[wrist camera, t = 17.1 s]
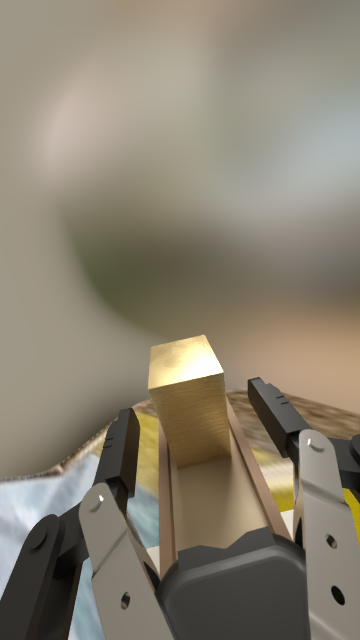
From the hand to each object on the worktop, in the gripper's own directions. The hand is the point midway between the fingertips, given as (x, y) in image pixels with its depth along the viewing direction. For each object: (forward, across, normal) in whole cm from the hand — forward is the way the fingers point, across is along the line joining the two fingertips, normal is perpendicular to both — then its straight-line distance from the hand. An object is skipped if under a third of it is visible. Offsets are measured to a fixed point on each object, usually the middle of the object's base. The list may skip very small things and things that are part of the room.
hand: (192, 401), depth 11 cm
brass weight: (+3, 0, +8) cm, 9 cm away
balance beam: (-8, 0, +10) cm, 12 cm away
